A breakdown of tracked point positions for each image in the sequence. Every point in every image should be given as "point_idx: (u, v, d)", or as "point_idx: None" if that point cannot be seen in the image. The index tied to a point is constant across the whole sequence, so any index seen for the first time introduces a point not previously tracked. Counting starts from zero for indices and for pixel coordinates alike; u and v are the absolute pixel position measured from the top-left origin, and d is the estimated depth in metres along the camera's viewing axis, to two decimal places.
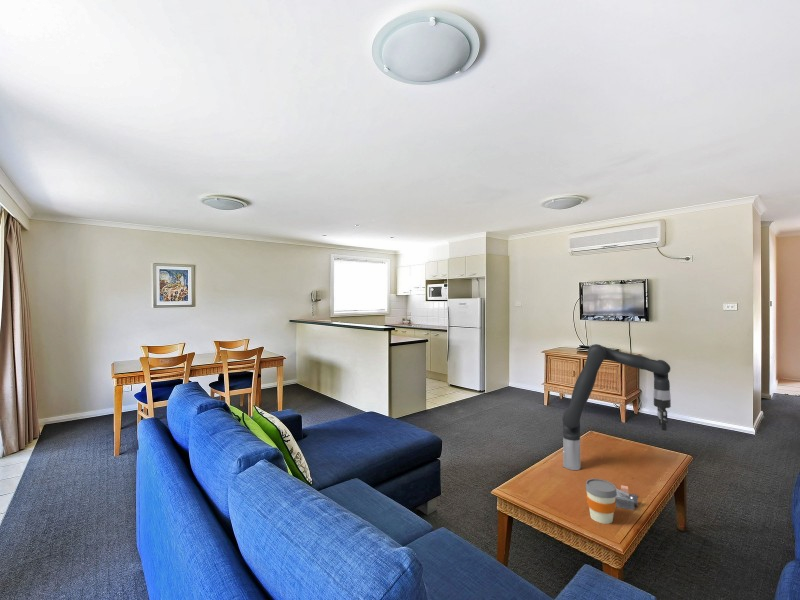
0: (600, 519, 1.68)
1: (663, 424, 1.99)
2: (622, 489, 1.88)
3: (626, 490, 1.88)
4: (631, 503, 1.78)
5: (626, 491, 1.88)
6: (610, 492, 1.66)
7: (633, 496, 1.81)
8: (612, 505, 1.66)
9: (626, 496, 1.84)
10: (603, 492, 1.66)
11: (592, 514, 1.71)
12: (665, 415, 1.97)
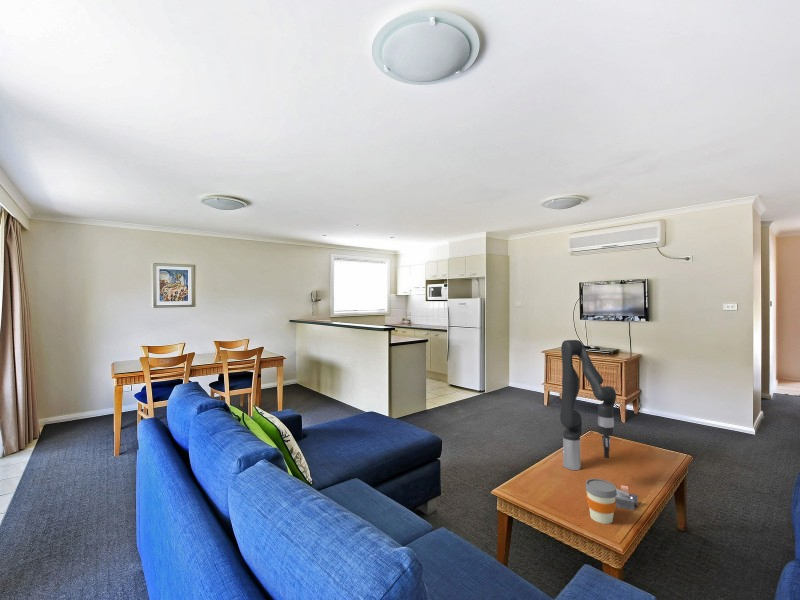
0: (600, 519, 1.68)
1: (605, 451, 1.99)
2: (622, 489, 1.88)
3: (626, 490, 1.88)
4: (631, 503, 1.78)
5: (626, 491, 1.88)
6: (610, 492, 1.66)
7: (633, 496, 1.81)
8: (612, 505, 1.66)
9: (626, 496, 1.84)
10: (603, 492, 1.66)
11: (592, 514, 1.71)
12: (607, 446, 1.95)
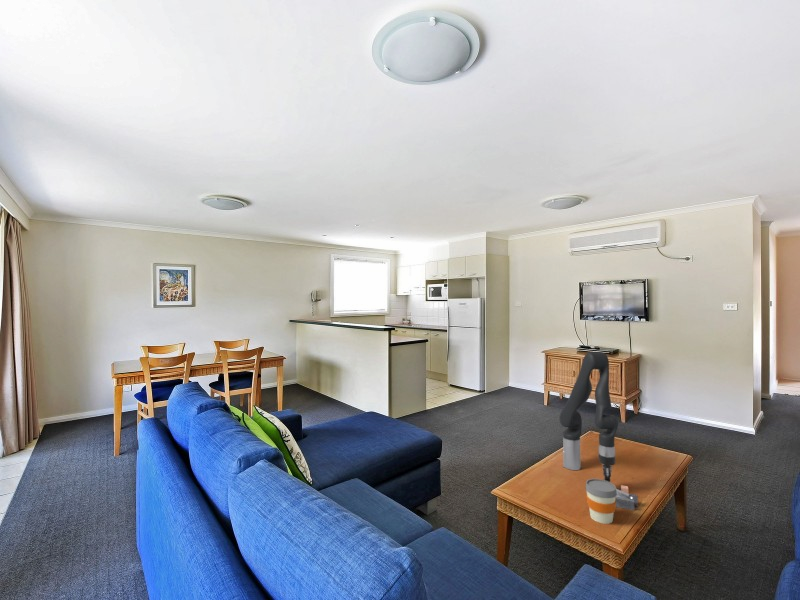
0: (600, 519, 1.68)
1: None
2: (622, 489, 1.88)
3: (626, 490, 1.88)
4: (631, 503, 1.78)
5: (626, 491, 1.88)
6: (610, 492, 1.66)
7: (633, 496, 1.81)
8: (612, 505, 1.66)
9: (626, 496, 1.83)
10: (603, 492, 1.66)
11: (592, 514, 1.71)
12: (608, 477, 1.91)
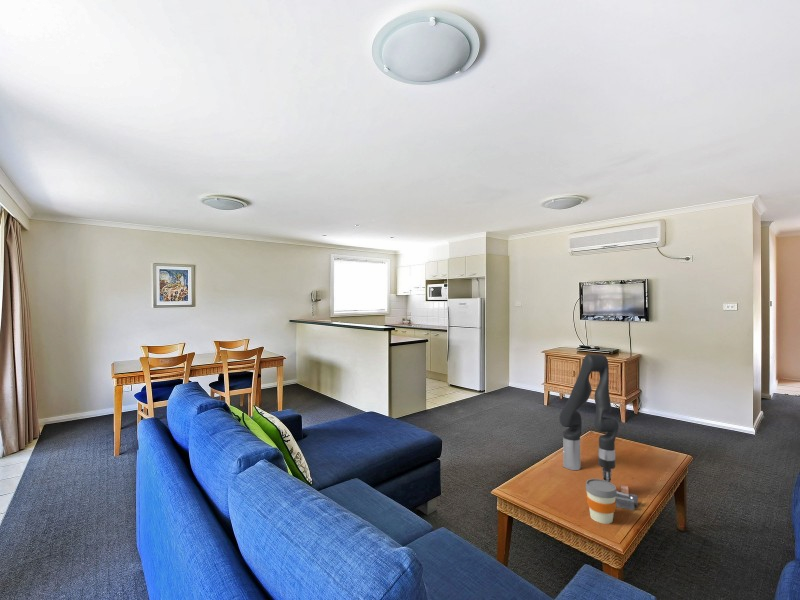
0: (600, 519, 1.68)
1: None
2: (622, 489, 1.88)
3: (626, 490, 1.88)
4: (631, 503, 1.78)
5: (626, 491, 1.88)
6: (610, 492, 1.66)
7: (634, 496, 1.81)
8: (612, 505, 1.66)
9: (626, 497, 1.83)
10: (603, 492, 1.66)
11: (592, 514, 1.71)
12: (608, 481, 1.87)
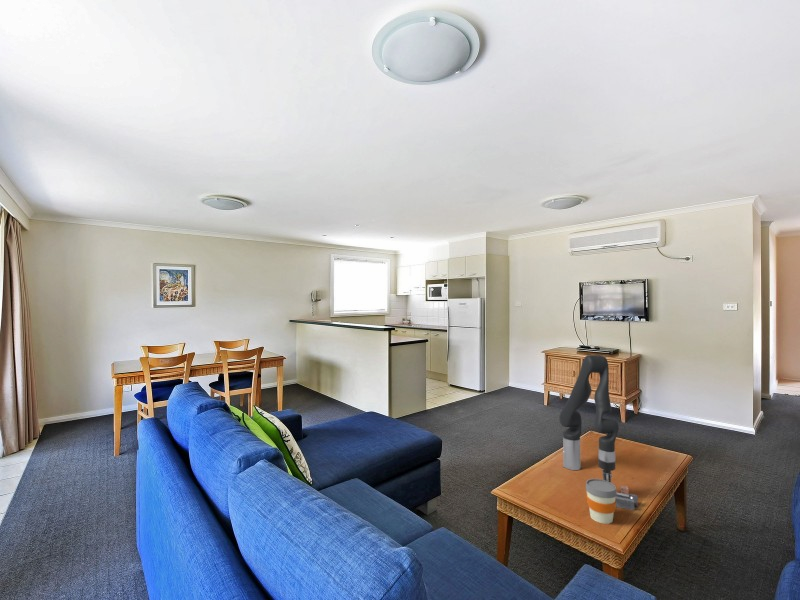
0: (600, 519, 1.68)
1: None
2: (622, 489, 1.88)
3: (626, 490, 1.88)
4: (631, 503, 1.78)
5: (626, 491, 1.88)
6: (610, 492, 1.66)
7: (634, 496, 1.81)
8: (612, 505, 1.66)
9: (626, 497, 1.82)
10: (603, 492, 1.66)
11: (592, 514, 1.71)
12: None
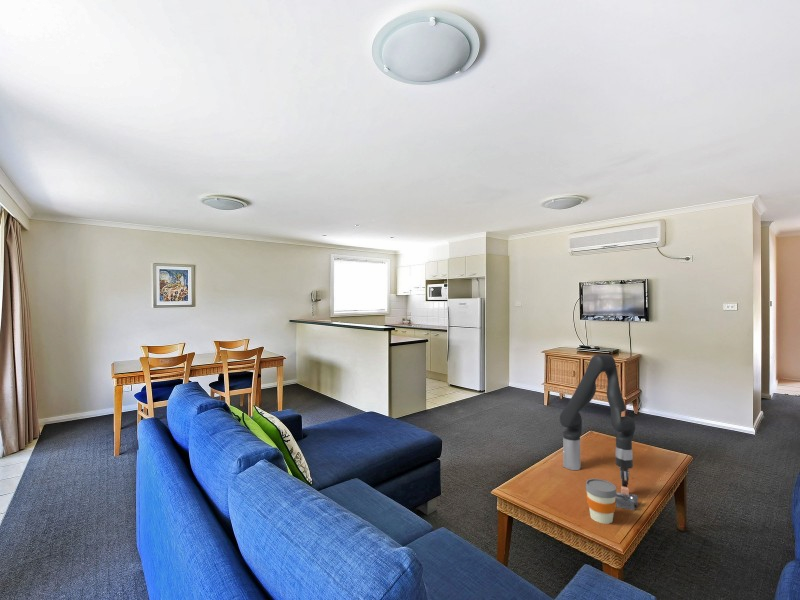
0: (600, 519, 1.68)
1: (624, 485, 1.90)
2: (622, 490, 1.87)
3: (626, 491, 1.87)
4: (631, 503, 1.78)
5: (626, 492, 1.87)
6: (610, 492, 1.66)
7: (634, 496, 1.81)
8: (612, 505, 1.66)
9: (626, 497, 1.82)
10: (603, 492, 1.66)
11: (592, 514, 1.71)
12: (626, 480, 1.87)
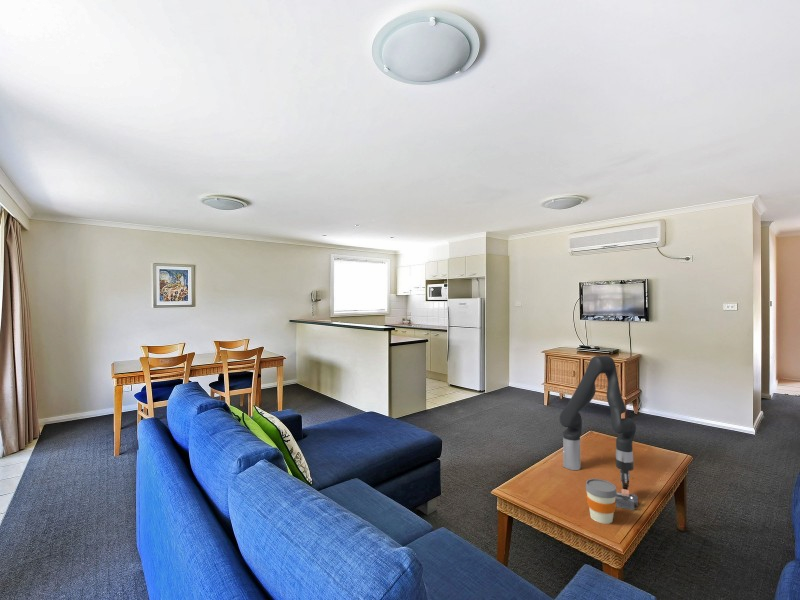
0: (600, 519, 1.68)
1: (624, 487, 1.88)
2: (623, 493, 1.85)
3: (627, 494, 1.84)
4: (631, 503, 1.78)
5: None
6: (610, 492, 1.66)
7: (634, 496, 1.81)
8: (612, 505, 1.66)
9: (626, 497, 1.82)
10: (603, 492, 1.66)
11: (592, 514, 1.71)
12: (626, 483, 1.84)
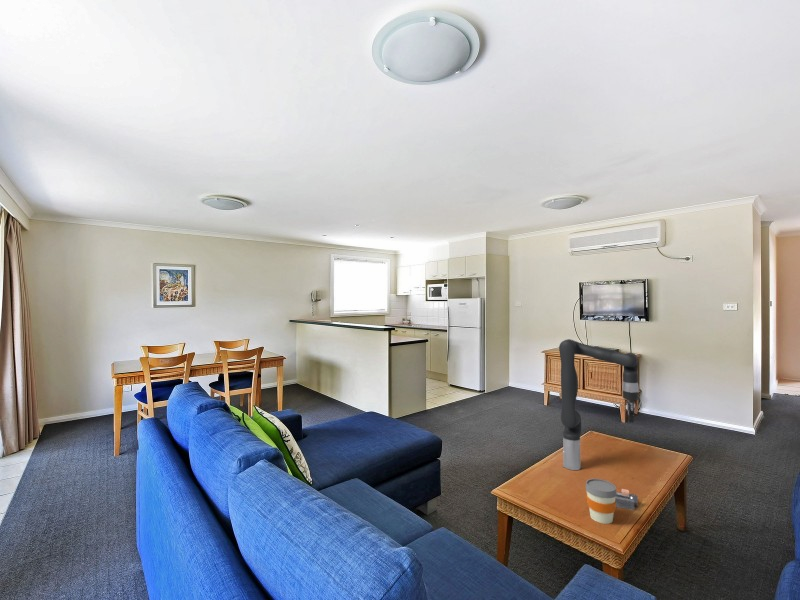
0: (600, 519, 1.68)
1: (630, 416, 2.05)
2: (623, 493, 1.85)
3: (627, 494, 1.84)
4: (631, 503, 1.78)
5: None
6: (610, 492, 1.66)
7: (634, 496, 1.81)
8: (612, 505, 1.66)
9: (626, 497, 1.82)
10: (603, 492, 1.66)
11: (592, 514, 1.71)
12: (632, 410, 2.01)
